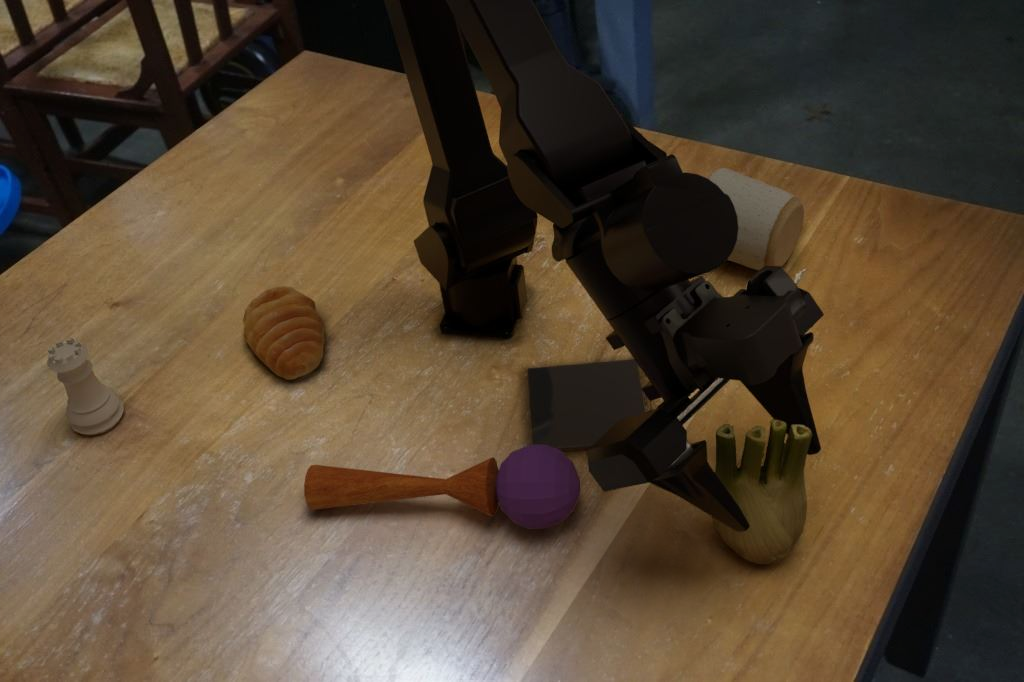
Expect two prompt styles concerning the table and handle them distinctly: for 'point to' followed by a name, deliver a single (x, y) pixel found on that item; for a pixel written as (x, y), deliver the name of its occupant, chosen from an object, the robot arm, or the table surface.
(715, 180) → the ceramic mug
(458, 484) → the kendama
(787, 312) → the robot arm
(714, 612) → the table surface
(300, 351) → the pastry
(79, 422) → the rook chess piece
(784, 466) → the fennel bulb
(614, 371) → the slate coaster
